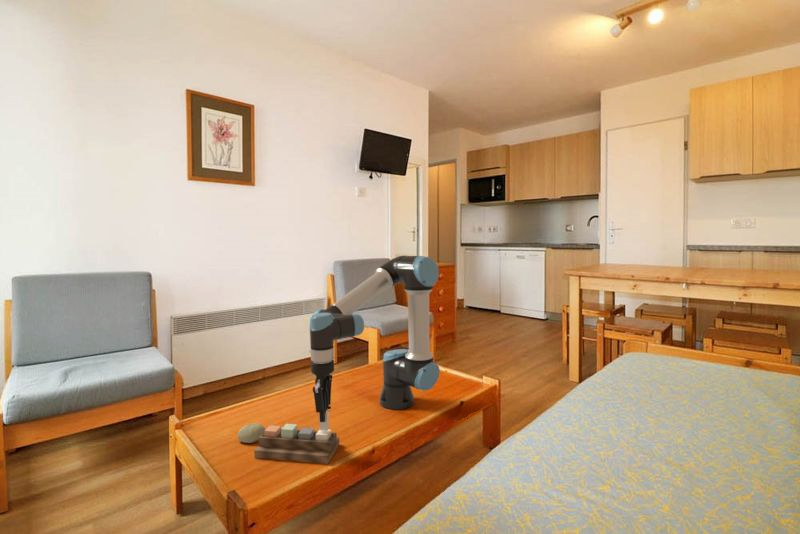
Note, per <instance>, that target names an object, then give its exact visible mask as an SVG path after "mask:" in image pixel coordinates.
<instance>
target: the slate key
mask: <svg viewBox="0 0 800 534" xmlns="http://www.w3.org/2000/svg"><path fill="white" fill-rule="evenodd" d="M300 430H301V431H300V432H299V433H298V439H302V440H311V439H312V438H313V437H314V431H315V428H314V427H302V428H301V429H300Z"/></svg>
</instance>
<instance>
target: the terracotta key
mask: <svg viewBox="0 0 800 534" xmlns="http://www.w3.org/2000/svg"><path fill="white" fill-rule="evenodd" d="M281 429H282V426H281V425H273V424H272V425H269V426H268V427H266V428H265V431H264V437H275V438H277V437H278V435H279V434H280V433H281Z"/></svg>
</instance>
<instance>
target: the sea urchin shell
mask: <svg viewBox="0 0 800 534" xmlns="http://www.w3.org/2000/svg"><path fill="white" fill-rule="evenodd" d="M265 430H266V428H265V426H264V425H262V424H261V423H258V422H254V423H248V424H245V425H244V426H242V427H241V428H240V430H238V433H237V439H238V440H239V442H241V443H246V444H251V443H256V442H259V440H258V437H259V436H261V435H262V434H263V433H264V431H265Z"/></svg>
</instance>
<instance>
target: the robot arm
mask: <svg viewBox="0 0 800 534" xmlns="http://www.w3.org/2000/svg"><path fill="white" fill-rule="evenodd" d="M439 272H440V271H439V266H438V264H437V262H435V260H434V259H433V258H432V257H429V256H423V255H398V256H396V257H394V258H392V259H390V260H388V261H386V262H385V263H383V264H382V265H380V266H378V267H377V268H376V270H375V273H374V274H372V275H371V276H369V277H368V278H366V279H365V280H364V281H363V282H361V283H360V284H359V285H357V286H356V287H355V288H353V289H352V290H350V291H349V292H348V293H346V294H345V295H344V296H342V297H341V298H339V299H338V300H337V301H335V302H334V303H332V304H331V305H329V306H328V307H327V308H326V309H323V308H322V309H317V310H315V311H314V313H312V314H311V316H310V317H309V339H310V340H309V341H310V342H309V343H310V344H309V345H310V349H309V353H310V360H311V362H310V372H311V374H312V375H315V381H314V382H315V383H314V384H315V386H313V387H312V392H313V396H314V398H313V399H314V403H315V413H317V414H318V422H319V423H318V424H319V426H318V427H319V429H318V431H319V430H322V431H327V430H328V429H329V428H330V423H329V421H330V420H329V410H331V408H332V406H331V402H332V401H331V400H332V399H331V398H332V384H333V383H332V381H333V372H334V371H335V361H334V359H335V350H334V349H335V346H334V345H335V344H334V343H335V341H338V340H342V339H347V338H353V337H356V336H360V335H361V334H362V333H363V332H364V330H365V322H364V319H363V317H362V316H361V315H360V314H358V313H356V312H357V311H358V310H359V309H360V308H362V307H364V306H365V305H366V304H367V303H370V301H371V300H372V299H374V298H375V297H377V295H379V294H380V293H382V292H383V291H384V290H386V289H391V288H392V287H393V286H394V285H397V284H403V286H404V287H403V289H404V291H405V292H406V293H407V299H408V300H407V304H408V305H407V307H408V308H407V314H408V315H407V316H408V318H407V319H408V324H407V325H408V331H407V333H408V349H406V348H405V349H404V348H402V349H393V350H387V351H385V352H384V353H383V358H382V359H383V360H382V369H383V372H382V375H383V377H382V378H383V379H382V380H383V384H382V385H383V386H382V389H381V393H380V395H379V405H380V406H381V407H383V408H385V409H388V410H403V409H408V408H410V407H412V406H413V405H414V404H415V396H414V393H413V390H412V387H413V388H415V389H417V390H421V391H429V390H431V389H432V388H433V387H435V385H436V384H437V382H438V380H439V379H440V378H439V377H440V367H439V365H438V364H437V363H436V362H435V361H434V354H433V353H432V352H431V351H430V350H431V349H430V345H431V344H430V336H431V335H430V293H431V292H432V291H433V289H434V286H435V285H436V284H437V282H438V280H439V277H440V273H439ZM355 313H356V314H355Z"/></svg>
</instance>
